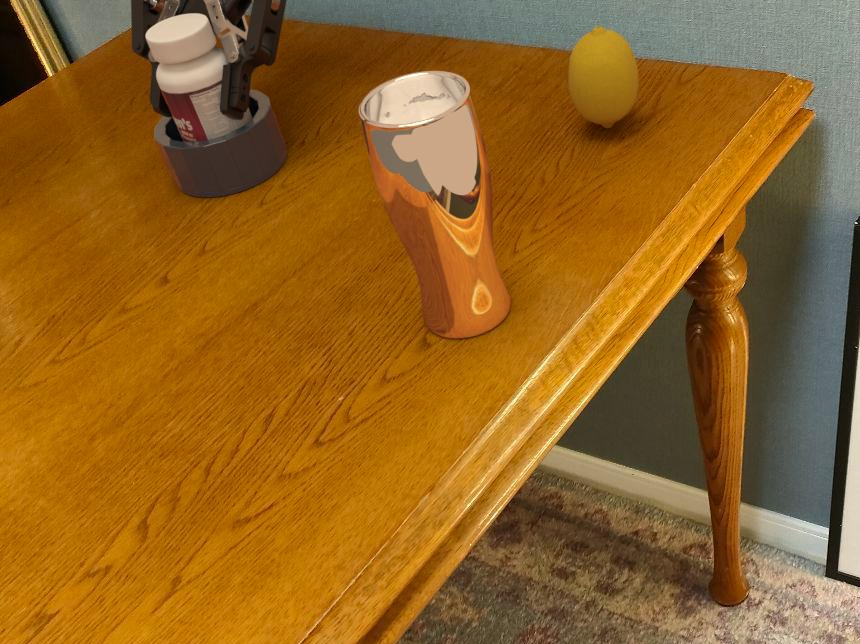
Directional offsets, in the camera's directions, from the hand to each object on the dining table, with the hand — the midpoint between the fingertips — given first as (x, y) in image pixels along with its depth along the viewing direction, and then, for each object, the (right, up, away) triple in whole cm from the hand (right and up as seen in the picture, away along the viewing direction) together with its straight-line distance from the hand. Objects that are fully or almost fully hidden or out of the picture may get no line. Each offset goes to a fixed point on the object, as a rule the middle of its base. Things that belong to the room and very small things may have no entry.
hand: (197, 115), depth 83 cm
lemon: (+34, -1, -1) cm, 34 cm away
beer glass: (+23, -20, -14) cm, 34 cm away
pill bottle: (+1, -2, +5) cm, 5 cm away
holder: (+1, -2, +5) cm, 6 cm away
